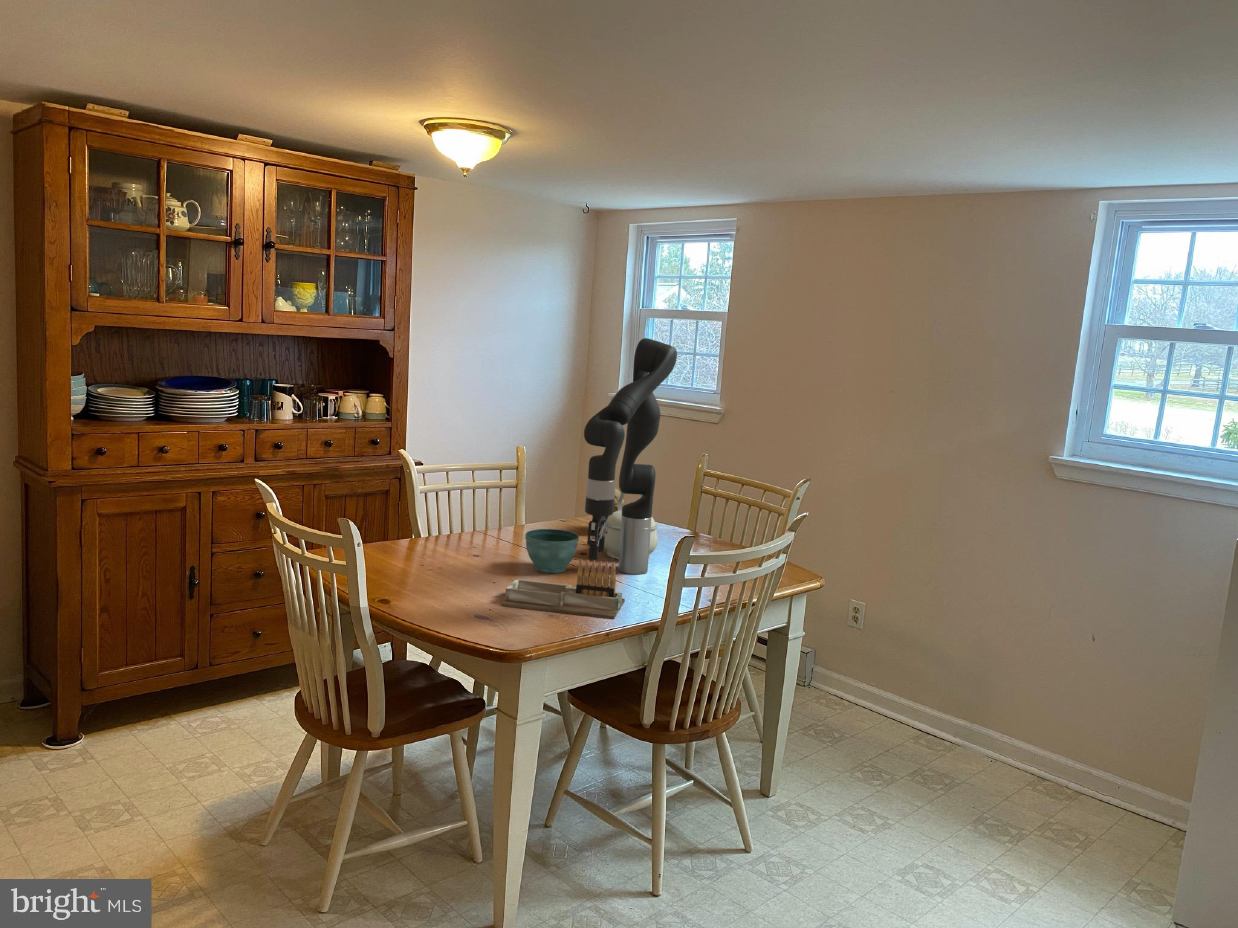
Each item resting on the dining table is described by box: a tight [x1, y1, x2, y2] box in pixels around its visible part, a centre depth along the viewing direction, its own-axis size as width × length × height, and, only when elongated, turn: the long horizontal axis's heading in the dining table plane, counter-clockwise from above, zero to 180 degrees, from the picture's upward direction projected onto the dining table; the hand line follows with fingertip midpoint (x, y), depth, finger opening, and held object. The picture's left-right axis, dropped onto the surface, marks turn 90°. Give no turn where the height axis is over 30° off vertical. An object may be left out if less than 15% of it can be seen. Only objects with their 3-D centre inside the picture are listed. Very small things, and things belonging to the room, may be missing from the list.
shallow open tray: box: [501, 578, 626, 620], centre depth 246 cm, size 16×30×4 cm, turn 80°
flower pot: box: [524, 528, 580, 574], centre depth 279 cm, size 16×16×11 cm
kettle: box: [604, 491, 659, 560], centre depth 302 cm, size 25×18×25 cm
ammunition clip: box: [575, 558, 617, 598], centre depth 244 cm, size 11×2×12 cm, turn 80°
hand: (596, 555), depth 243 cm, fingers open, 8 cm apart
